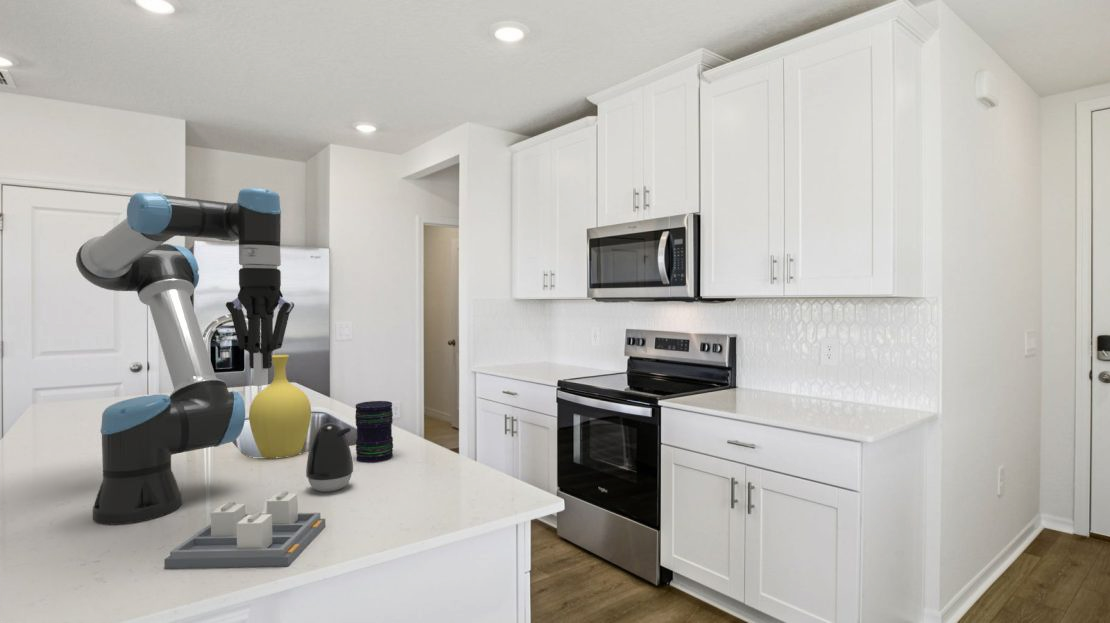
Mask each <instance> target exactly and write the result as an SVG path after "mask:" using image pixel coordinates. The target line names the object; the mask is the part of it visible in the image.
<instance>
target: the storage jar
mask: <svg viewBox="0 0 1110 623" xmlns="http://www.w3.org/2000/svg"><path fill="white" fill-rule="evenodd" d="M354 415H355V416H354V417H355V427H356V439H355V444H356V445H355V451H356V461H357V462H358V463H365V464H375V463H382V462H387V461H390V460H391V459H393V458H394V454H393V452H394V450H393V448H394V443H393V442H394V437H393V433H392V428H393V427H392V424H393V421H394V420H393V402H392V401H387V400H371V401H363V402H359V403H356V404H355V414H354Z"/></svg>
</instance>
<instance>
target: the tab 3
mask: <svg viewBox="0 0 1110 623" xmlns="http://www.w3.org/2000/svg"><path fill="white" fill-rule="evenodd" d="M298 500H299V499H298V493H289V491H287V490H285V491H282V492H281V493H276V494H274V495H273V496H271V497H270V498H269V499H268V500H266V514H272V524H294V523H295V522H296V521H297V520H298V513H299V511H298V510H299V508H298V506H299V503H298V502H299V501H298Z"/></svg>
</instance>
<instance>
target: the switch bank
mask: <svg viewBox="0 0 1110 623" xmlns="http://www.w3.org/2000/svg"><path fill="white" fill-rule="evenodd" d="M253 514H254V513H245V517H246V516H247V515H253ZM263 514H264V513H261V515H263ZM325 527H326V518H321V512H298V520H297V521H296V522H295V523H294V524H272V544H271V545H270V546H269V547H268V548H263V549H237V536H215V537H211V523H210V524H208V525H206V526H205V527H204V528H203V529H201V530H200V531H199V532H197V533H195V534H194V535H193V536H191V537H190V538H188V539H187V540H185V541H184V542H182V543H181V544H180V545H178V546H177V547H174V549H172V550H171V551H170V552H169V556H167V557H166V558H164V561H163V562H164V569H206V568H209V569H210V568H211V569H212V568H217V569H219V568H261V567H263V568H265V567H266V568H268V567H289V566H290V565H291V564H292V563H293V562H294V561H295V559H297V557H298V556H299V555H300V554H301V553H302V552H303V551H304V550H305V549H306V548H307V547H308V546H309V545H310V543H311V542H312V541H314V539H316V537H317V536H318V535H319V534H320V533H321V532H322V531H323V530H324V529H325Z"/></svg>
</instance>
